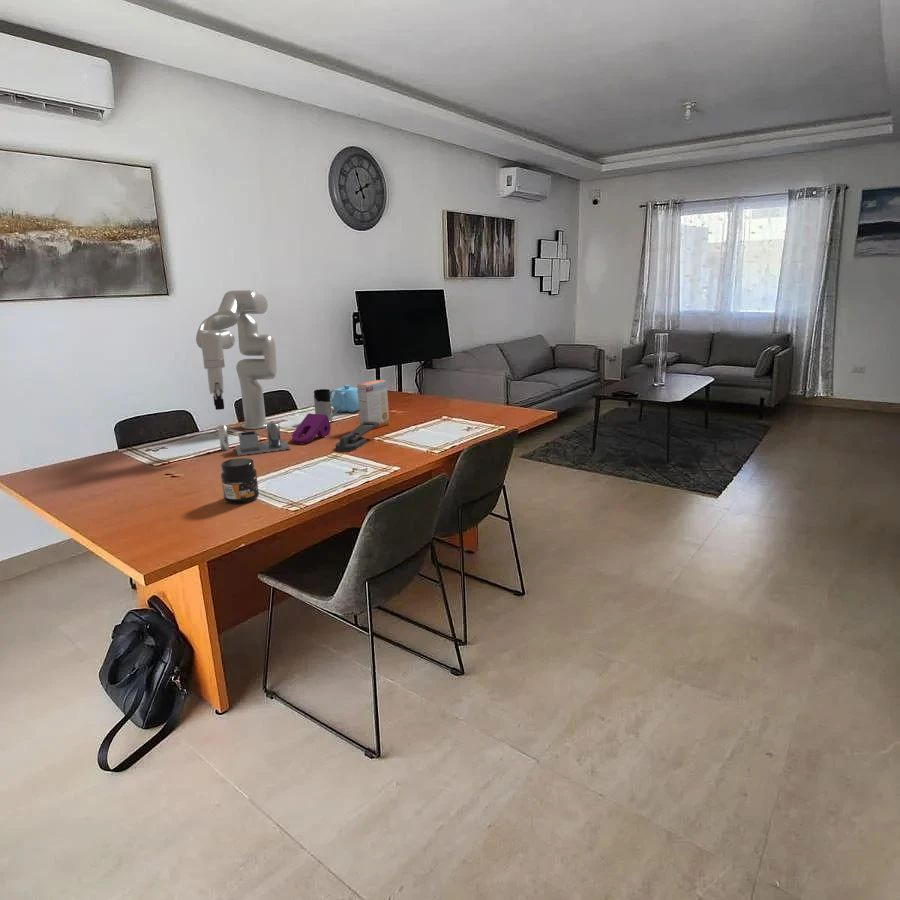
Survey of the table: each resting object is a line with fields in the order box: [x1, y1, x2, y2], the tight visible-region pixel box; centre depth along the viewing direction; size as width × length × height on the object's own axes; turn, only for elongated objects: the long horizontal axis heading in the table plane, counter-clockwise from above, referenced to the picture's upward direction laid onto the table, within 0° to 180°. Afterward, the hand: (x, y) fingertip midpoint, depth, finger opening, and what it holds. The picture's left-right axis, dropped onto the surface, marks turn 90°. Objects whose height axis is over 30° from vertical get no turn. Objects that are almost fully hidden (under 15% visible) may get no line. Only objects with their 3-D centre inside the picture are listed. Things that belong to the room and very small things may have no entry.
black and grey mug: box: [313, 388, 343, 421], centre depth 287 cm, size 9×14×15 cm, turn 96°
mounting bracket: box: [291, 413, 332, 444], centre depth 257 cm, size 9×8×18 cm
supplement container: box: [220, 457, 260, 505], centre depth 185 cm, size 10×10×12 cm
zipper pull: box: [335, 421, 379, 452], centre depth 248 cm, size 9×7×25 cm
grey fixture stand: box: [234, 422, 291, 457], centre depth 241 cm, size 12×20×10 cm, turn 114°
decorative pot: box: [330, 384, 359, 414], centre depth 310 cm, size 16×16×14 cm
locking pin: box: [217, 424, 230, 452], centre depth 241 cm, size 3×3×10 cm
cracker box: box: [356, 379, 390, 430], centre depth 273 cm, size 14×6×21 cm, turn 144°
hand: (219, 407), depth 237 cm, fingers open, 9 cm apart
